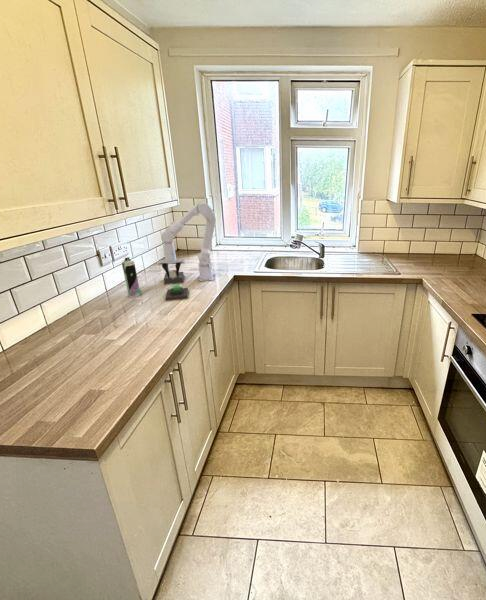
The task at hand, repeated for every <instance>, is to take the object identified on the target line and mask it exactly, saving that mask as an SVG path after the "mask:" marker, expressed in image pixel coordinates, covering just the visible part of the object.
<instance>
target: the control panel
mask: <svg viewBox="0 0 486 600" xmlns="http://www.w3.org/2000/svg"><path fill="white" fill-rule="evenodd" d="M184 279H185V272H184V271H179V276H178V277H176V278H170V277H168V276H167V273H166V272H165V274H164V277H163V284H164V285H171V284H173V285H174V284H181V283H182V284H183V283H184Z"/></svg>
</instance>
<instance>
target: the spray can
mask: <svg viewBox="0 0 486 600" xmlns="http://www.w3.org/2000/svg"><path fill="white" fill-rule="evenodd" d="M121 266H122V270H123V276H124V280H125V285H126V290H127V295H128V297H129V298H137V297H140V296H141V295H142V294H141V289H140V284H139V279H138V274H137V268H136V264H135V261H134V260H132V259H130V256H129V257H128V256H127V257H124V260H123V261H122V262H121Z"/></svg>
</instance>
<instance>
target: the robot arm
mask: <svg viewBox="0 0 486 600" xmlns="http://www.w3.org/2000/svg"><path fill="white" fill-rule="evenodd" d="M200 215H201V216H203V217H204V218H205V220H206V223H205V228H204V232H203V233H204V234H203V238H202V244H201V249H200V252H199V253H198V255H197V259H198V271H199V272H198V273H199V276H198V277H199V278H198V280H199V282H205V281H206V282H207V281H214V274H213V269H212V266H213V265H212V262H211V247H212V243H213V242H212V241H213V237H214V232H215V226H216V221H217V218H216V216H215V214H214V212H213V209H212V208H211V206H210V205H209V204H208V203H207V202H206V201H204V200H201V201H199V202H197V204H195V205H194V206H192V207H191V208H190V209H189V210H188V211H187V212H186V213H185V214H184V215H183V216H182V217H181V218H180V219H179V220H175V221H172V222H171V224H170V225H169V226H168V227H167V228H165V230H163V231H162V233H161V241H162V248H163V255H164V259H162V260H157V261H156V264H157V266H161V267H162V269H163V270H164V271H165V273H167V276H168V277H169V272H168V271H170V270H169V265H174V266H175V270H176V271H177V276H179V272H180V268H181V265H185V264H186V259H177V255H176V249H175V244H174V238H175V237H176V236H178V235H179V234H180V233H181V232H182V231H183V230H184V229H185V228H184V227H185V225H186V224H187V223H188V222H189V221H190V220H192V219H193V217H195V216H200Z"/></svg>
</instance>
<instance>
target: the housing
mask: <svg viewBox="0 0 486 600" xmlns="http://www.w3.org/2000/svg"><path fill="white" fill-rule="evenodd" d="M188 293H189V288H188V287H182V286H180V290H177V291H173V288H172V287H171V288H168V289H167V291H166V294H165V301H177V300H186V299H187V300H188Z"/></svg>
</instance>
